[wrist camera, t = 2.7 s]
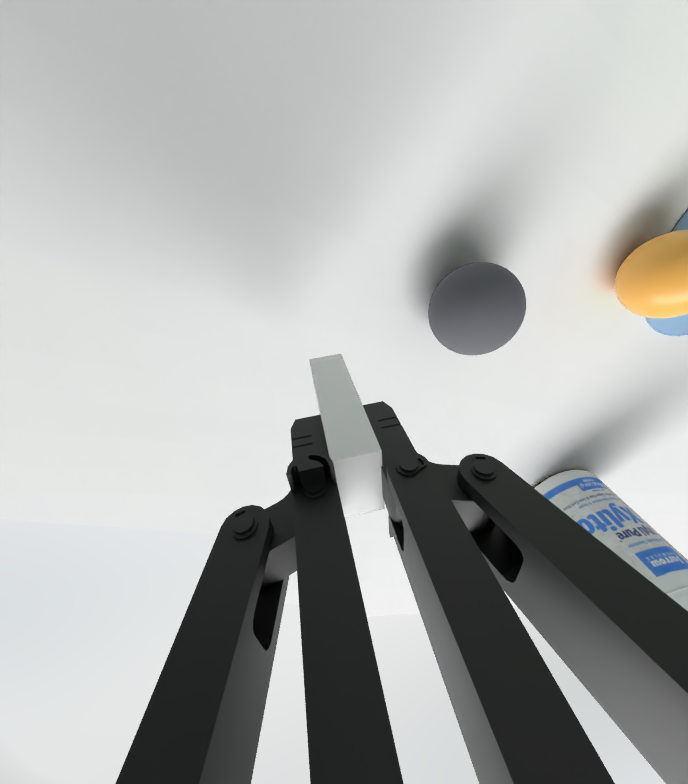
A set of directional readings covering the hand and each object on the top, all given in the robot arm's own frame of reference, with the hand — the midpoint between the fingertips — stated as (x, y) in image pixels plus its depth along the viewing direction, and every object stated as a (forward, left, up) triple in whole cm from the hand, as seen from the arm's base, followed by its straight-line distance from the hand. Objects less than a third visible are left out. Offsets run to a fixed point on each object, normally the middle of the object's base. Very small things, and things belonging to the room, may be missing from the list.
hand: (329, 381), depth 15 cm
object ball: (+11, +21, -4) cm, 24 cm away
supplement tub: (+36, +9, -7) cm, 38 cm away
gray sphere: (+5, +9, -4) cm, 11 cm away
